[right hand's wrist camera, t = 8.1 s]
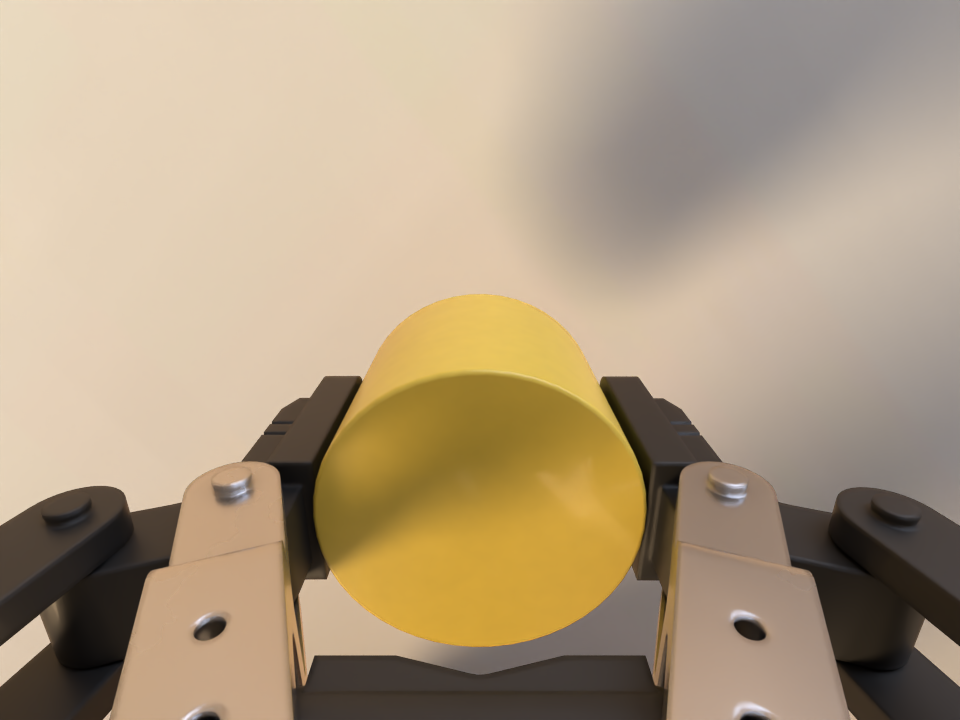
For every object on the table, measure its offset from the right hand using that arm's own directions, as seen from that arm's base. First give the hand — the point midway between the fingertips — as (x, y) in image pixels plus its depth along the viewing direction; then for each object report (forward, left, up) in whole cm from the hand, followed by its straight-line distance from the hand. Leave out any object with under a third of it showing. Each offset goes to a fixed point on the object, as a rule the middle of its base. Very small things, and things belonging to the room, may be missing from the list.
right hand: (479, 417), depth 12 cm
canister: (0, 0, -1) cm, 1 cm away
